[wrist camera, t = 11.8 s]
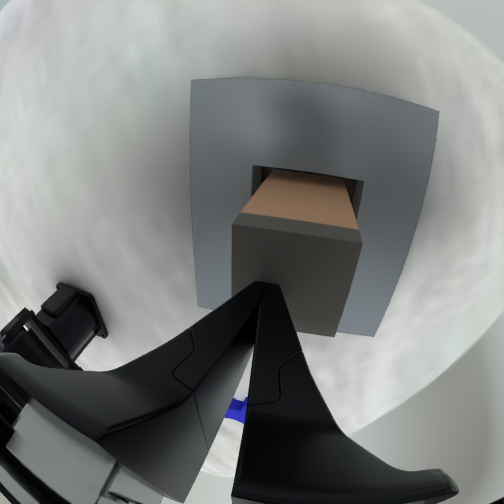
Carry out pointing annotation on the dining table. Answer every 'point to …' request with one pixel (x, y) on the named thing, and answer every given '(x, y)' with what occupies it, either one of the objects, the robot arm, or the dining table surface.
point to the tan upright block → (299, 246)
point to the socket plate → (311, 160)
